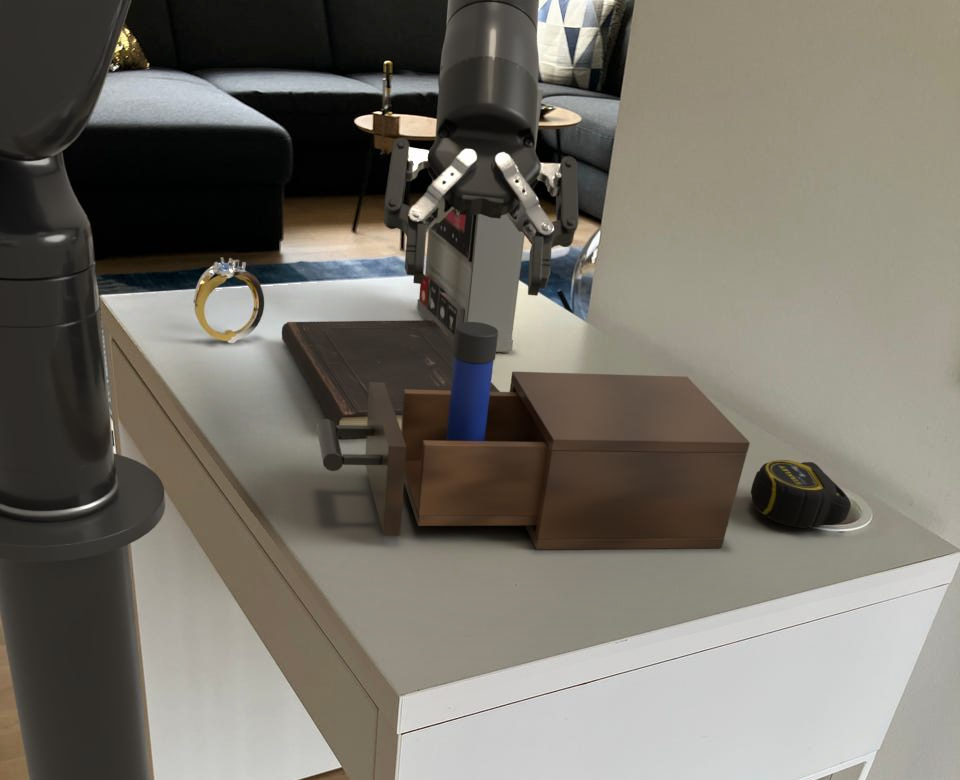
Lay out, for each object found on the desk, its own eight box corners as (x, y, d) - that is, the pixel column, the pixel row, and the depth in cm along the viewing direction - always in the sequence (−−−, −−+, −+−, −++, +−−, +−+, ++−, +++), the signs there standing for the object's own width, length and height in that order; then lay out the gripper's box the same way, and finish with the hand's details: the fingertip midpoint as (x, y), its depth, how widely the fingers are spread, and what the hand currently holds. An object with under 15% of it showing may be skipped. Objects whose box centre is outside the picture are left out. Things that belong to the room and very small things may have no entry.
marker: (444, 493, 79) (459, 335, 72) (437, 475, 81) (451, 320, 75) (483, 493, 80) (502, 336, 73) (475, 476, 82) (493, 322, 75)
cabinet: (536, 549, 78) (553, 439, 73) (499, 472, 88) (512, 371, 83) (722, 548, 81) (750, 442, 76) (665, 473, 91) (687, 376, 86)
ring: (257, 333, 109) (256, 253, 104) (269, 344, 107) (269, 263, 102) (190, 339, 106) (187, 256, 101) (201, 350, 103) (197, 266, 99)
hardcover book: (432, 341, 112) (433, 319, 111) (511, 430, 95) (514, 406, 94) (281, 344, 107) (281, 321, 106) (336, 439, 90) (337, 413, 88)
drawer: (324, 535, 74) (327, 445, 70) (312, 463, 83) (314, 380, 79) (566, 534, 78) (581, 448, 74) (529, 465, 87) (541, 386, 83)
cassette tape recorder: (414, 311, 120) (432, 63, 106) (465, 311, 122) (489, 67, 108) (457, 355, 110) (483, 86, 96) (511, 353, 112) (544, 90, 98)
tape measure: (844, 537, 85) (859, 495, 82) (765, 536, 83) (777, 493, 81) (809, 497, 90) (822, 457, 88) (734, 495, 89) (745, 454, 87)
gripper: (395, 41, 76) (379, 247, 73) (590, 64, 78) (582, 267, 75) (393, 111, 84) (379, 300, 81) (572, 131, 85) (564, 318, 82)
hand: (476, 284), depth 78 cm, fingers open, 8 cm apart
